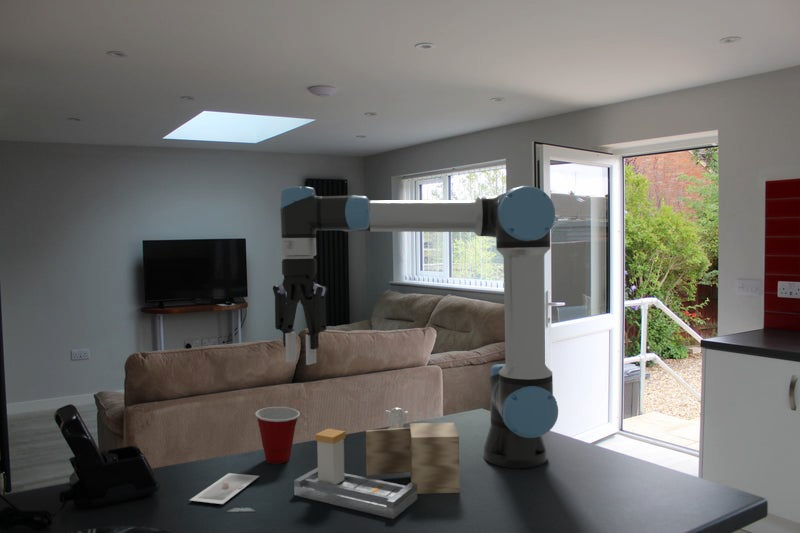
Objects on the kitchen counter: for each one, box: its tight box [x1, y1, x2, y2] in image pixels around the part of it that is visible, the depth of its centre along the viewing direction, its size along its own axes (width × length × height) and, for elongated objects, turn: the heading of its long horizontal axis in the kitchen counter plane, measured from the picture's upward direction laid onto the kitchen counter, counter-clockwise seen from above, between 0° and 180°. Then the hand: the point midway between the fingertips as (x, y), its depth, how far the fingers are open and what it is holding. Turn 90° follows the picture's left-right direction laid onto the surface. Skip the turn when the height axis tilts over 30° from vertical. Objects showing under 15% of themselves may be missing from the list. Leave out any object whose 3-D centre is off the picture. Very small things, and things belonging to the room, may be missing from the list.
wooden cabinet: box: [365, 422, 461, 495], centre depth 131 cm, size 20×10×12 cm, turn 91°
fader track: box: [293, 466, 418, 520], centre depth 125 cm, size 24×10×3 cm, turn 61°
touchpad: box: [189, 472, 260, 505], centre depth 129 cm, size 8×15×2 cm, turn 164°
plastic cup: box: [254, 406, 301, 465], centre depth 147 cm, size 11×11×12 cm
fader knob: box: [314, 428, 347, 484], centre depth 127 cm, size 5×5×10 cm
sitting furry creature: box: [384, 406, 408, 429], centre depth 149 cm, size 10×9×12 cm
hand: (301, 362), depth 133 cm, fingers open, 5 cm apart
